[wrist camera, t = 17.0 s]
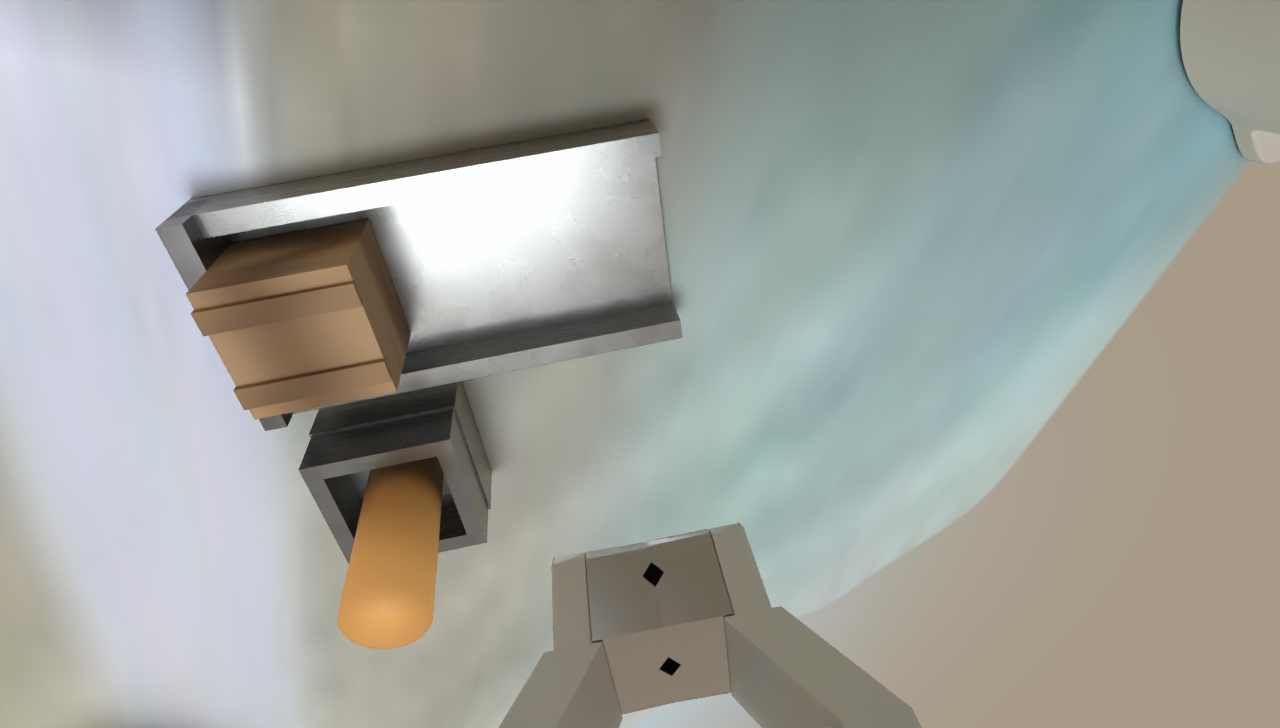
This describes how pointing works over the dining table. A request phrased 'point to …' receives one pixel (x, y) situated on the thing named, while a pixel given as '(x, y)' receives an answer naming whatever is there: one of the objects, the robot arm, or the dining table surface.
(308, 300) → the crate
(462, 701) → the dining table surface
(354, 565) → the round peg
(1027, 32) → the dining table surface
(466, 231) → the bay
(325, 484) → the square tube sleeve
